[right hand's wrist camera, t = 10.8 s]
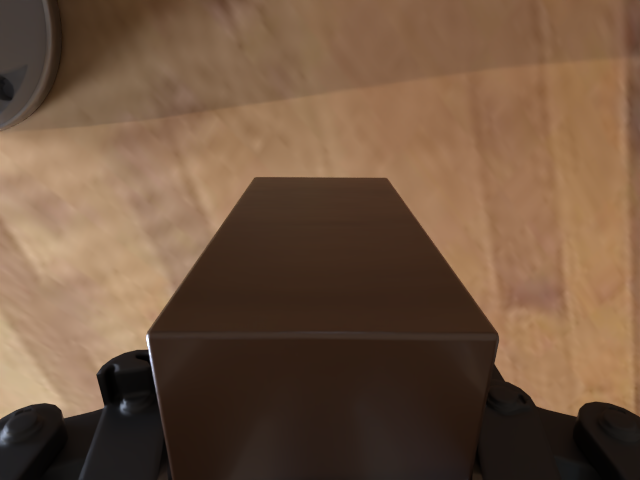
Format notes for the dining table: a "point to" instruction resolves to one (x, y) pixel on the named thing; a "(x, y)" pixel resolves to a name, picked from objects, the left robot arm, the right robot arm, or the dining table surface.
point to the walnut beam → (321, 344)
